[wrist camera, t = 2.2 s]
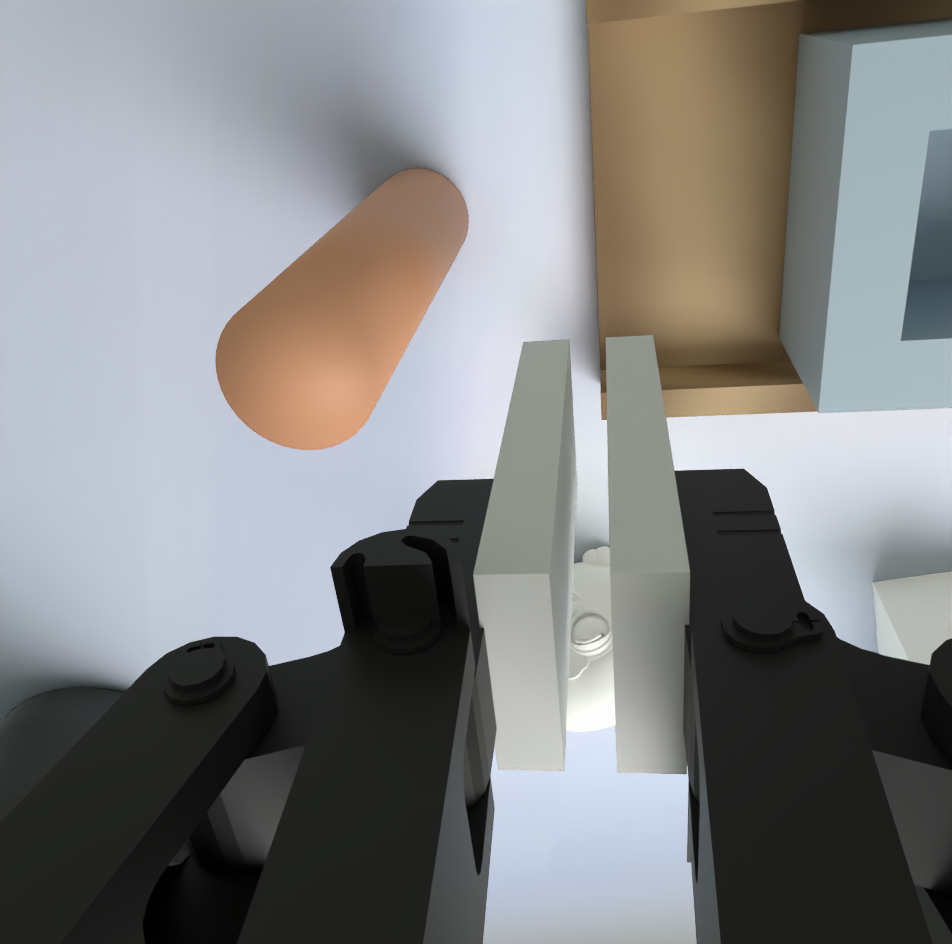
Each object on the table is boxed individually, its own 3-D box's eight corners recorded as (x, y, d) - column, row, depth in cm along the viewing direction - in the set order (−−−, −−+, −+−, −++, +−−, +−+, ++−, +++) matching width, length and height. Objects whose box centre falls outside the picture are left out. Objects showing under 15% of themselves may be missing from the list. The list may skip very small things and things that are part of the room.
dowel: (379, 270, 31) (237, 452, 19) (364, 172, 29) (197, 301, 17) (473, 264, 30) (389, 447, 18) (462, 163, 29) (362, 289, 17)
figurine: (651, 524, 35) (662, 629, 29) (699, 642, 37) (718, 761, 31) (472, 577, 37) (448, 684, 31) (528, 685, 40) (516, 802, 34)
